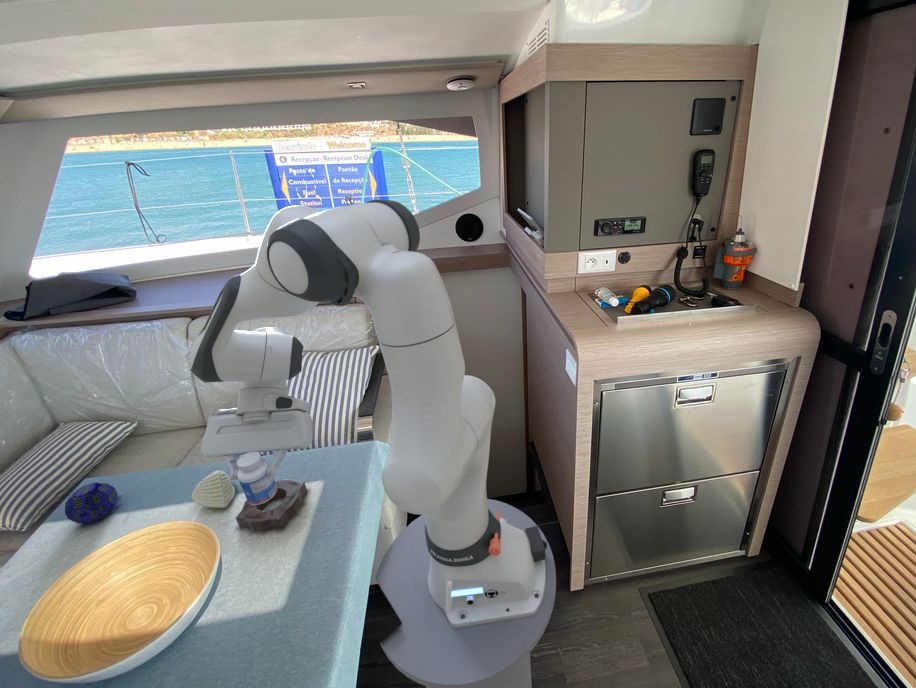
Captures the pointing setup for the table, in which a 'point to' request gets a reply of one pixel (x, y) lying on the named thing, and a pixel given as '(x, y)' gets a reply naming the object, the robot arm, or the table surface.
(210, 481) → the seashell
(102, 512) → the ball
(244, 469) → the pill bottle
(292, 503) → the brown candle holder
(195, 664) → the table surface
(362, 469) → the table surface
